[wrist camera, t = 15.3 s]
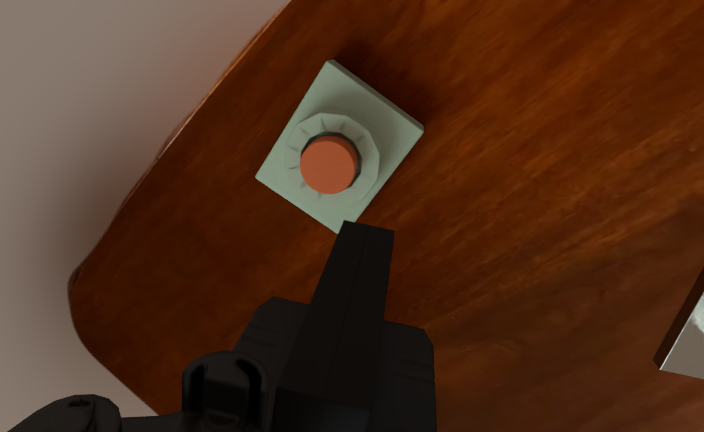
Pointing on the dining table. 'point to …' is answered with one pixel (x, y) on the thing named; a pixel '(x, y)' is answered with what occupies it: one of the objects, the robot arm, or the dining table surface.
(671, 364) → the bracket
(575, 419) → the dining table surface
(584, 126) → the dining table surface
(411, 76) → the dining table surface
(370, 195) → the block
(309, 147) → the button
